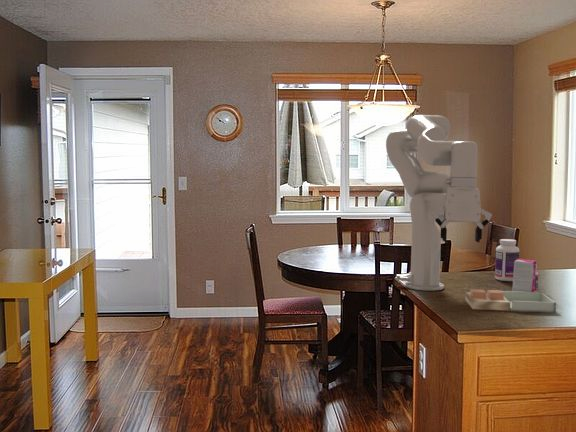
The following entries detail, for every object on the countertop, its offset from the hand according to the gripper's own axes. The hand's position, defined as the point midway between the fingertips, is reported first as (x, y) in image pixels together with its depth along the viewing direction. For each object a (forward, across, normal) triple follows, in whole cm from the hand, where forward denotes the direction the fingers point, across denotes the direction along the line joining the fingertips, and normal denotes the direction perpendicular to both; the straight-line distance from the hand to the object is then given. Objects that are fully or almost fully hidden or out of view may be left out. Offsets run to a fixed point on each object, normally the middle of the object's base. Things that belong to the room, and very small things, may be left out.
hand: (460, 241), depth 196 cm
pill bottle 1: (+19, +24, +41) cm, 51 cm away
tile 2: (+16, +10, 0) cm, 19 cm away
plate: (+19, +8, 0) cm, 21 cm away
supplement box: (+19, +23, +14) cm, 33 cm away
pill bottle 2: (+19, +27, +22) cm, 40 cm away
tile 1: (+16, +6, 0) cm, 17 cm away
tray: (+19, +20, -1) cm, 27 cm away
